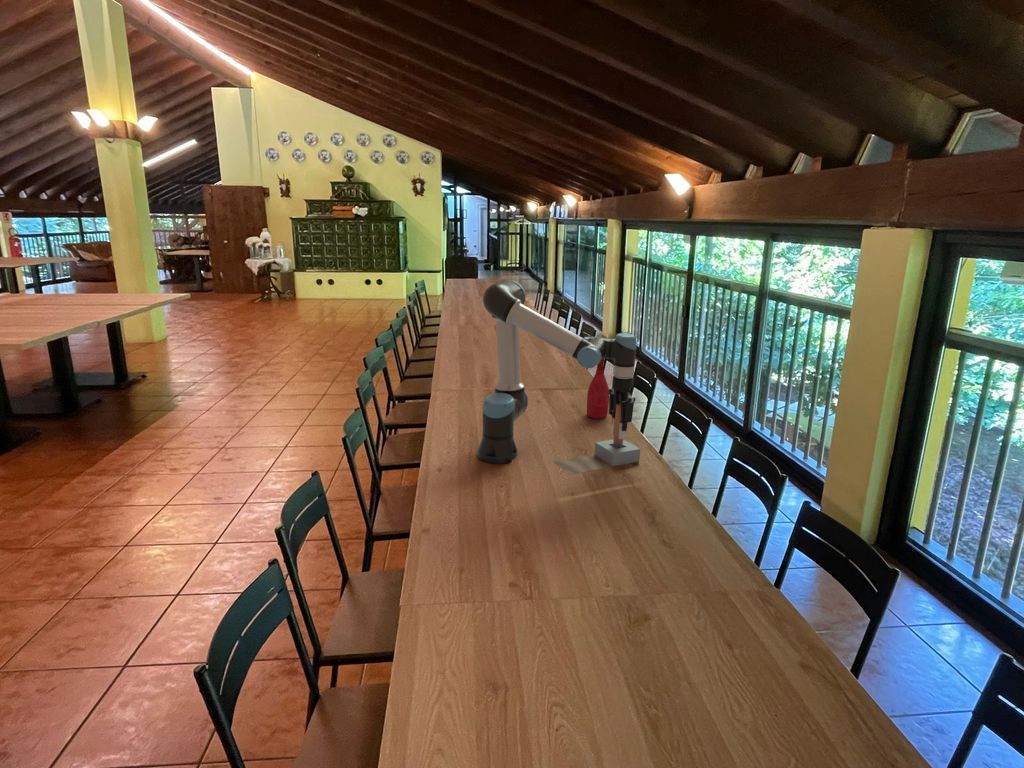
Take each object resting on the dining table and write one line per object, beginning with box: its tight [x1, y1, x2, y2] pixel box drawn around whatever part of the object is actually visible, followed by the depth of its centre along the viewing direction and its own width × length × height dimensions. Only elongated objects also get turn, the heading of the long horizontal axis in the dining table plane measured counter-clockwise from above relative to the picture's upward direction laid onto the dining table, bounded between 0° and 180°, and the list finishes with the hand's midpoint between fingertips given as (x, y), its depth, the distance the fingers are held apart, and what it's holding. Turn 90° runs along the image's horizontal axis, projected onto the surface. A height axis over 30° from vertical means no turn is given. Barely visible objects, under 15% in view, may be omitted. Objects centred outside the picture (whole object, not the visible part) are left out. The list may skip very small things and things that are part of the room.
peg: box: [613, 403, 624, 444], centre depth 229 cm, size 4×4×15 cm
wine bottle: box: [586, 359, 610, 419], centre depth 278 cm, size 10×10×30 cm
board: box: [554, 454, 640, 475], centre depth 230 cm, size 30×12×1 cm, turn 116°
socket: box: [593, 438, 641, 467], centre depth 233 cm, size 12×12×5 cm
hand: (618, 436), depth 231 cm, fingers closed on peg, 3 cm apart
